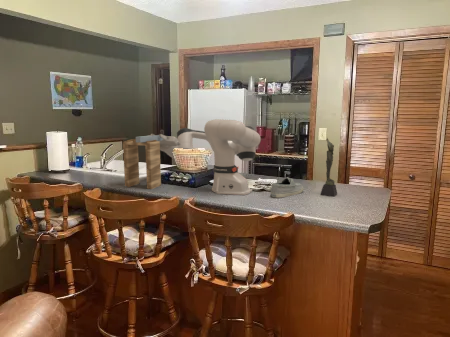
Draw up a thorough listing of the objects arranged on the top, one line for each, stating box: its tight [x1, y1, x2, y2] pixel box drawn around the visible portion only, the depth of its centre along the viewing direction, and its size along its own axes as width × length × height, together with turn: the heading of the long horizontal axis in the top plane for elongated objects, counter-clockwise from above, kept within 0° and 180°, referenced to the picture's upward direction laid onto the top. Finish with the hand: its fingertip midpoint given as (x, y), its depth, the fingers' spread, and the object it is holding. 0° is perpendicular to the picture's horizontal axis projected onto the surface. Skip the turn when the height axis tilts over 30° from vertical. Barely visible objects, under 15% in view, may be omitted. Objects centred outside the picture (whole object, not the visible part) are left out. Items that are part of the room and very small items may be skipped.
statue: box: [320, 137, 338, 198], centre depth 189 cm, size 7×8×30 cm
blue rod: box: [135, 134, 163, 142], centre depth 207 cm, size 3×23×3 cm, turn 159°
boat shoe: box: [270, 176, 304, 199], centre depth 192 cm, size 9×25×9 cm, turn 140°
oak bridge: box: [122, 138, 162, 190], centre depth 208 cm, size 18×10×27 cm, turn 69°
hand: (156, 134), depth 212 cm, fingers open, 4 cm apart
